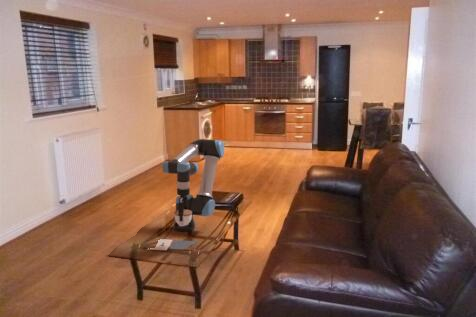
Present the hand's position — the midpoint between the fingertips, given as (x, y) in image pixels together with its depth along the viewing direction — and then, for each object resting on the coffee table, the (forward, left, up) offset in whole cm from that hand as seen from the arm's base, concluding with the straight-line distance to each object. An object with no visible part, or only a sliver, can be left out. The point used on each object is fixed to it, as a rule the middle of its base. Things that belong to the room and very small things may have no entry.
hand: (183, 222), depth 253 cm
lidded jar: (0, 0, -1) cm, 1 cm away
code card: (0, -15, -15) cm, 21 cm away
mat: (0, 0, -15) cm, 15 cm away
